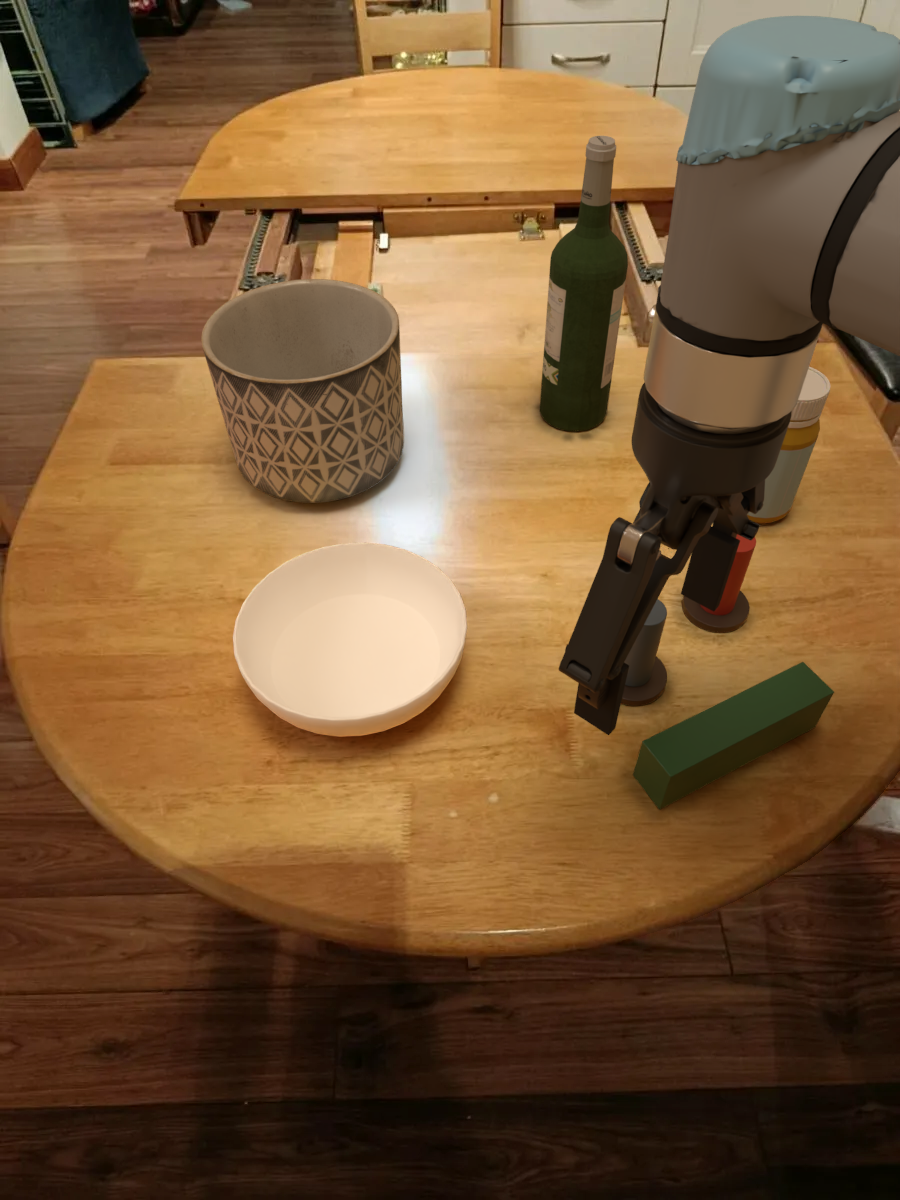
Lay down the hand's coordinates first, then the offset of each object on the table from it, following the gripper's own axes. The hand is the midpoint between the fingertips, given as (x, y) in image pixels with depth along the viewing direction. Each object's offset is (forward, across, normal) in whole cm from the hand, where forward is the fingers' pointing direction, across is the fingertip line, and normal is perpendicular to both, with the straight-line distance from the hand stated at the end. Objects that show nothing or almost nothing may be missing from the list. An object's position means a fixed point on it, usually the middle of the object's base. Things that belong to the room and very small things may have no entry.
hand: (650, 657), depth 58 cm
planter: (+14, -12, -47) cm, 50 cm away
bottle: (+14, -35, -6) cm, 38 cm away
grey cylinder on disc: (+14, -8, -4) cm, 16 cm away
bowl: (+14, +7, -23) cm, 28 cm away
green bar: (+14, -6, +6) cm, 16 cm away
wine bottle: (+14, -37, -30) cm, 50 cm away
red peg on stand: (+14, -20, -2) cm, 24 cm away
